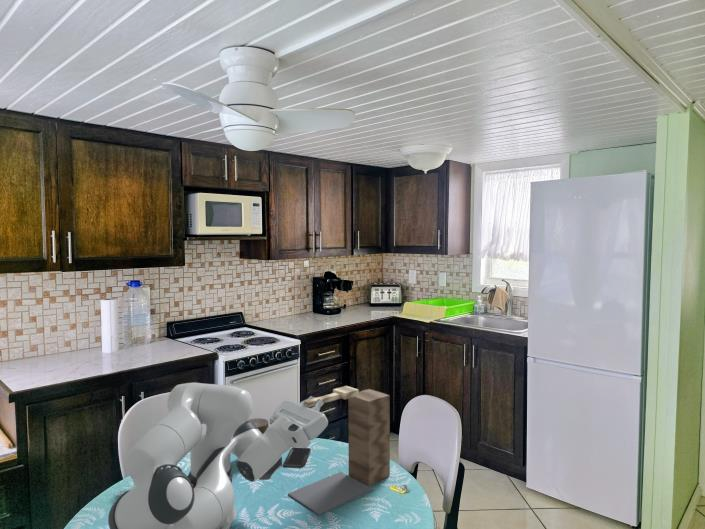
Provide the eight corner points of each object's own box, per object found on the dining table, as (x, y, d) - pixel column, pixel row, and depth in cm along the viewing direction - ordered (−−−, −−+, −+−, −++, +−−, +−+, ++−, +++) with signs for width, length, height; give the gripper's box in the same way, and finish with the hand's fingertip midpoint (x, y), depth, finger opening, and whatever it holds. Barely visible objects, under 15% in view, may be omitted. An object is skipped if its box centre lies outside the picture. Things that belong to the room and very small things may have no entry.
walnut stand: (368, 485, 158) (368, 401, 157) (348, 475, 165) (348, 394, 164) (389, 476, 164) (389, 395, 163) (369, 466, 172) (369, 388, 171)
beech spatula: (312, 408, 144) (312, 402, 144) (300, 403, 148) (300, 397, 148) (358, 395, 157) (358, 389, 157) (346, 391, 161) (346, 385, 161)
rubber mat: (319, 515, 140) (319, 513, 140) (288, 494, 152) (288, 493, 152) (372, 490, 155) (372, 488, 155) (340, 473, 167) (340, 471, 167)
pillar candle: (274, 457, 180) (273, 417, 179) (256, 466, 171) (255, 425, 171) (255, 451, 185) (254, 413, 185) (236, 461, 177) (236, 420, 176)
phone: (282, 464, 172) (291, 447, 187) (282, 467, 172) (291, 450, 187) (304, 465, 171) (311, 448, 186) (304, 468, 171) (311, 450, 186)
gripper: (271, 429, 150) (301, 399, 158) (310, 449, 135) (342, 415, 143) (262, 414, 148) (294, 384, 156) (301, 433, 133) (334, 399, 140)
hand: (317, 399), depth 149 cm, fingers closed on beech spatula, 2 cm apart
